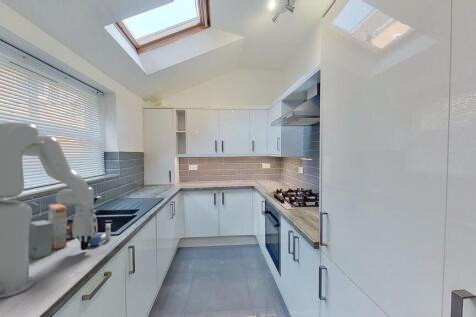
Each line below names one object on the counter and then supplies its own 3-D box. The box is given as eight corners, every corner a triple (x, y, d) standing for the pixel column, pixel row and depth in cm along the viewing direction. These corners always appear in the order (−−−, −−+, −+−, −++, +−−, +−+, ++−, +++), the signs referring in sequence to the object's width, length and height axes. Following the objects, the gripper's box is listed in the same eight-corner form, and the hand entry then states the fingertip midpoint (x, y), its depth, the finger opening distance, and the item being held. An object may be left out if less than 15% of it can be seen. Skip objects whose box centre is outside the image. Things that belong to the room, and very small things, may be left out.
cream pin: (100, 237, 132) (108, 231, 141) (96, 238, 132) (104, 232, 141) (101, 241, 132) (109, 235, 141) (97, 242, 132) (105, 236, 141)
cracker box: (67, 246, 125) (67, 206, 124) (52, 250, 120) (52, 208, 120) (61, 240, 134) (61, 202, 134) (47, 242, 130) (47, 204, 130)
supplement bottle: (69, 240, 133) (69, 220, 133) (62, 238, 136) (62, 219, 136) (80, 237, 139) (80, 218, 139) (73, 235, 141) (73, 216, 141)
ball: (104, 235, 131) (101, 246, 128) (93, 235, 131) (90, 246, 128) (99, 232, 126) (96, 244, 123) (87, 232, 126) (84, 244, 123)
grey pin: (109, 241, 133) (109, 225, 133) (104, 241, 133) (104, 225, 133) (111, 239, 136) (111, 223, 136) (106, 239, 136) (106, 223, 135)
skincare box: (26, 255, 113) (26, 222, 113) (44, 250, 120) (44, 219, 119) (35, 259, 109) (35, 225, 109) (53, 254, 116) (53, 221, 115)
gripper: (104, 210, 122) (104, 246, 122) (74, 210, 121) (74, 246, 122) (95, 214, 115) (95, 252, 115) (63, 214, 114) (63, 252, 114)
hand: (84, 249), depth 118 cm, fingers closed
